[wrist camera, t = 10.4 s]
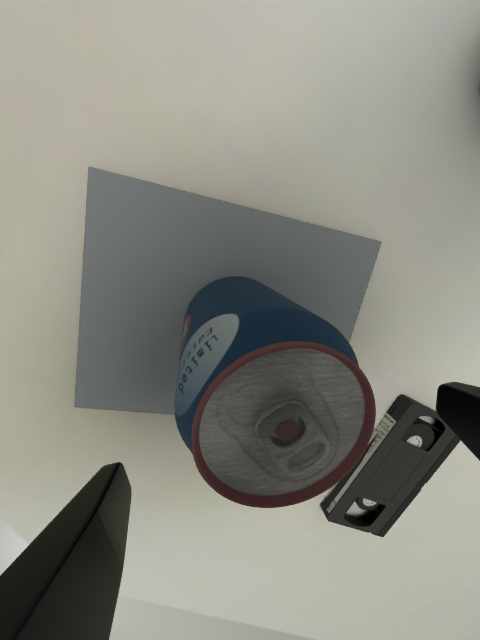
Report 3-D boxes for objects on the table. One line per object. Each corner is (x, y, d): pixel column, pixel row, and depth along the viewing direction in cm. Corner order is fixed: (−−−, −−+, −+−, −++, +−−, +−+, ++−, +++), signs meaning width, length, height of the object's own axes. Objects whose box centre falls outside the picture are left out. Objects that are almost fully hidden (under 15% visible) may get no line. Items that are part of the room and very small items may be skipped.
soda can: (163, 310, 18) (113, 423, 7) (246, 254, 18) (338, 271, 7) (219, 381, 20) (253, 556, 9) (293, 331, 20) (423, 443, 9)
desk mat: (378, 241, 20) (381, 241, 19) (319, 422, 24) (321, 425, 23) (91, 168, 15) (88, 166, 15) (76, 403, 19) (74, 407, 19)
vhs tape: (396, 390, 25) (413, 402, 23) (449, 417, 27) (468, 430, 25) (316, 501, 27) (325, 521, 25) (370, 518, 29) (383, 537, 27)
